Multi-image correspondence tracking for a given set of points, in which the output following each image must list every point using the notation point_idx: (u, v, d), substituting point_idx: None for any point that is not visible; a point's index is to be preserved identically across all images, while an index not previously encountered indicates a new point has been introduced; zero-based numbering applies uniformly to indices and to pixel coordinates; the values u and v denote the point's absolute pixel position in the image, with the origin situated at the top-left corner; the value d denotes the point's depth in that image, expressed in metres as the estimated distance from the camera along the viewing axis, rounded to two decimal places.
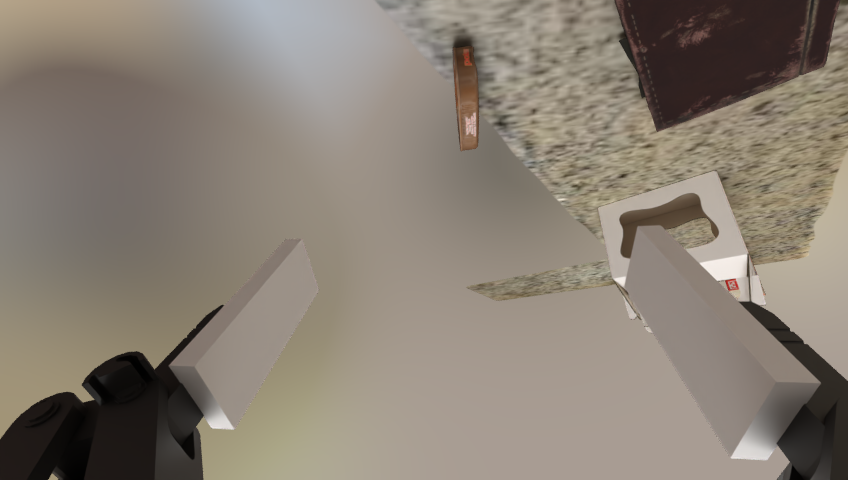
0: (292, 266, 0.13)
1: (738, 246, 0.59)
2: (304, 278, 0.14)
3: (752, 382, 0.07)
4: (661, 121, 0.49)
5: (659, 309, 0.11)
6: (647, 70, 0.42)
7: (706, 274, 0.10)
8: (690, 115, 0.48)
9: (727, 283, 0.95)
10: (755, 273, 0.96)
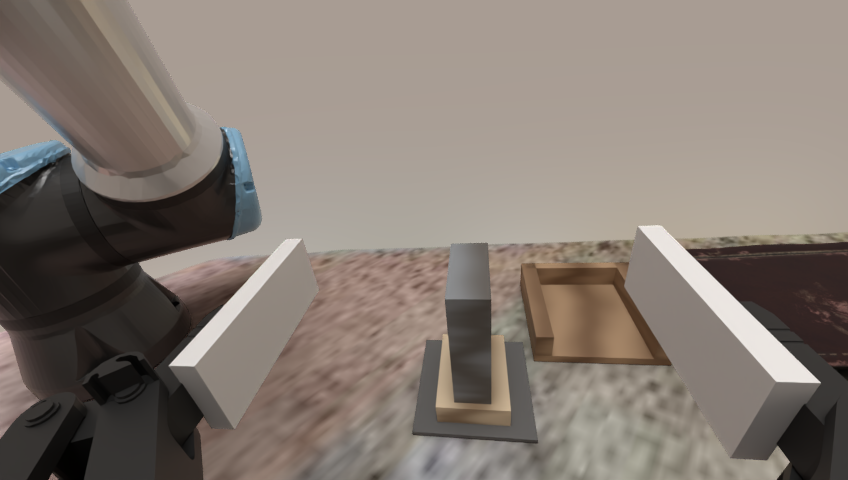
0: (292, 266, 0.13)
1: None
2: (304, 278, 0.14)
3: (752, 382, 0.07)
4: None
5: (659, 308, 0.11)
6: None
7: (706, 274, 0.10)
8: None
9: None
10: None
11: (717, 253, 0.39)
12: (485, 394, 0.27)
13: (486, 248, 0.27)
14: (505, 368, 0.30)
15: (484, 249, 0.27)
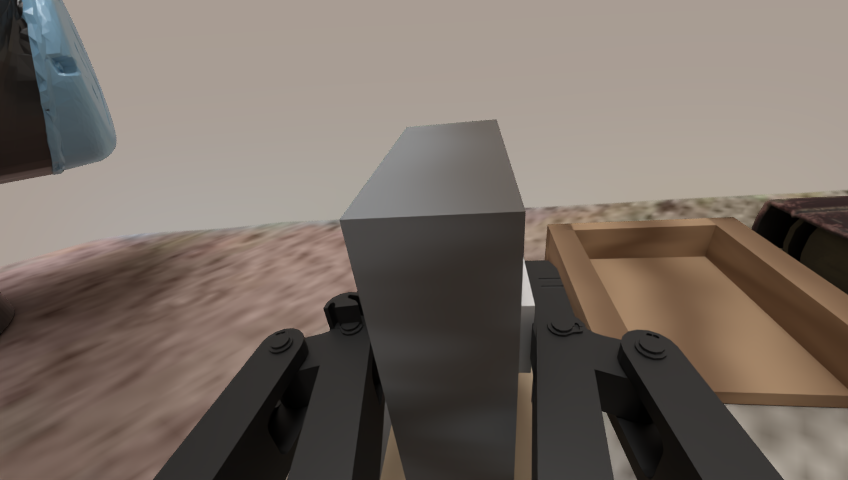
0: None
1: None
2: None
3: None
4: None
5: None
6: None
7: None
8: None
9: None
10: None
11: None
12: None
13: (494, 125, 0.11)
14: None
15: (489, 126, 0.10)
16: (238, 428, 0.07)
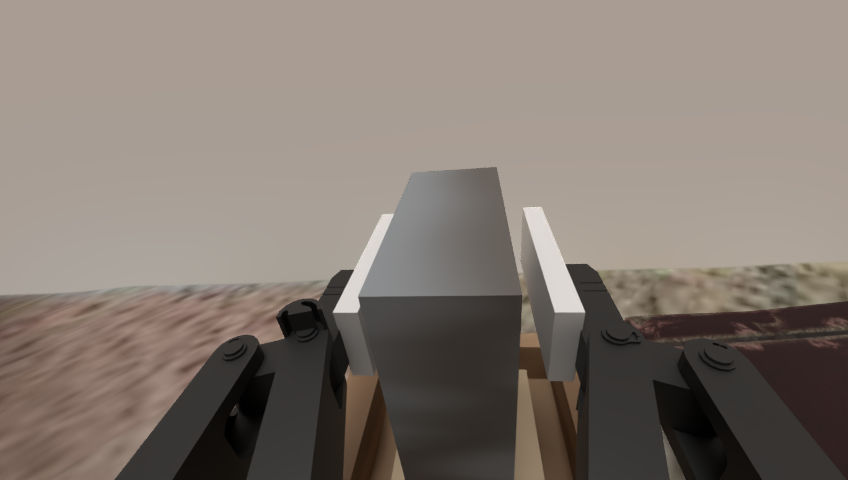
0: None
1: None
2: None
3: (550, 317, 0.10)
4: None
5: (529, 274, 0.13)
6: None
7: (553, 242, 0.12)
8: None
9: None
10: None
11: (776, 325, 0.17)
12: None
13: (494, 175, 0.11)
14: (536, 448, 0.14)
15: (489, 177, 0.11)
16: (192, 436, 0.07)
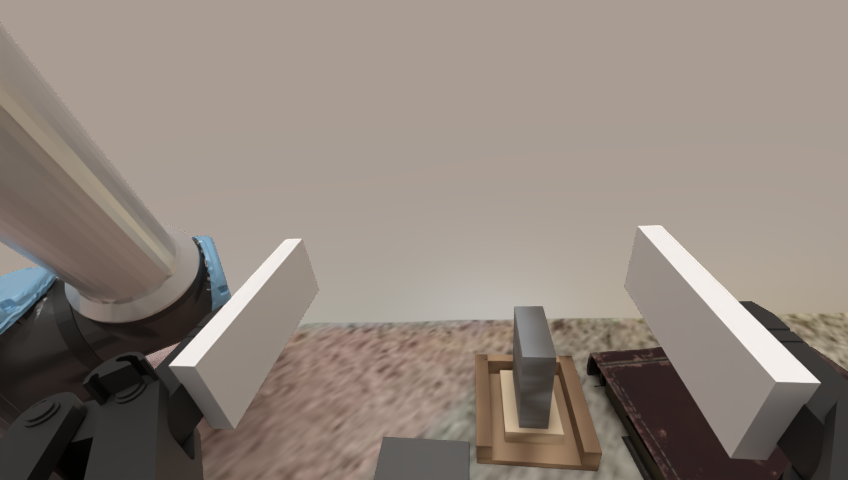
0: (292, 266, 0.13)
1: None
2: (304, 278, 0.14)
3: (752, 382, 0.07)
4: None
5: (659, 309, 0.11)
6: None
7: (706, 274, 0.10)
8: None
9: None
10: None
11: (650, 355, 0.42)
12: (544, 421, 0.36)
13: (543, 311, 0.37)
14: (554, 399, 0.40)
15: (541, 312, 0.37)
16: None
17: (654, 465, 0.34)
